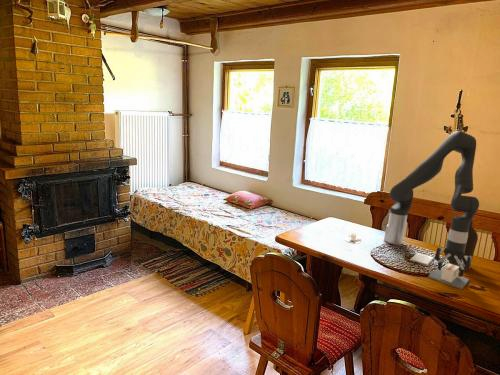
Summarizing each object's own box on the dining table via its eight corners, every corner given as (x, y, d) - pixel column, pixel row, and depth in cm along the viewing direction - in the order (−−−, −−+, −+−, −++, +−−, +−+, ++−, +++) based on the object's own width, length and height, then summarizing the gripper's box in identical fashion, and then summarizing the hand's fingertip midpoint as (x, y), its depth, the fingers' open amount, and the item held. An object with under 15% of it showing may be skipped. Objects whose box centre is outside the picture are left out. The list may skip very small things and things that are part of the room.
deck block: (446, 273, 174) (448, 262, 172) (457, 276, 171) (459, 266, 169) (440, 278, 167) (442, 268, 166) (451, 282, 164) (453, 271, 163)
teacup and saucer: (359, 239, 212) (360, 232, 211) (362, 244, 205) (363, 237, 204) (344, 238, 213) (345, 231, 212) (346, 243, 205) (347, 236, 204)
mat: (428, 277, 169) (428, 275, 169) (436, 270, 178) (436, 268, 178) (461, 289, 160) (462, 287, 160) (468, 280, 169) (469, 279, 169)
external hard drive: (409, 262, 187) (416, 255, 196) (427, 267, 182) (433, 260, 191) (410, 259, 186) (417, 252, 196) (427, 264, 181) (433, 257, 191)
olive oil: (461, 271, 179) (472, 222, 173) (442, 262, 188) (452, 215, 182) (475, 268, 183) (487, 220, 177) (456, 259, 193) (466, 213, 187)
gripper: (477, 242, 163) (469, 276, 166) (442, 233, 172) (435, 265, 176) (473, 246, 157) (465, 281, 161) (437, 236, 167) (430, 269, 170)
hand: (449, 273), depth 168 cm, fingers open, 8 cm apart
